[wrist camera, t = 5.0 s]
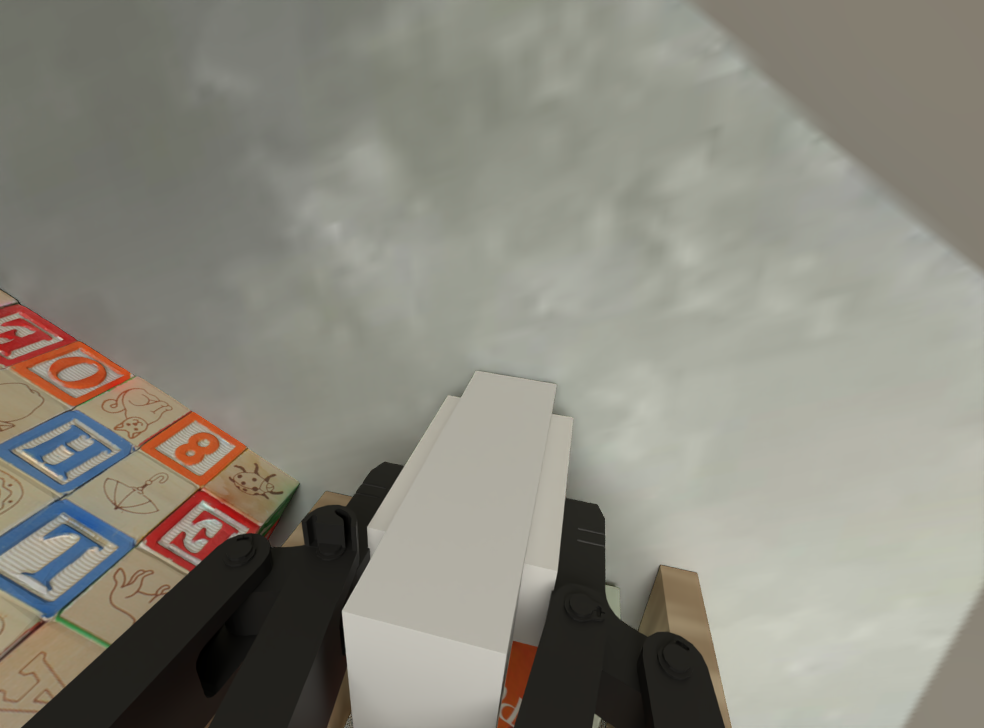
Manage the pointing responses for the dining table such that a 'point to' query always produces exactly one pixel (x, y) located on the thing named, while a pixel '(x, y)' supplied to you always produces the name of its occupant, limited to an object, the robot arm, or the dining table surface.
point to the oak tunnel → (666, 611)
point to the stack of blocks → (101, 504)
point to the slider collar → (453, 568)
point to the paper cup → (516, 682)
